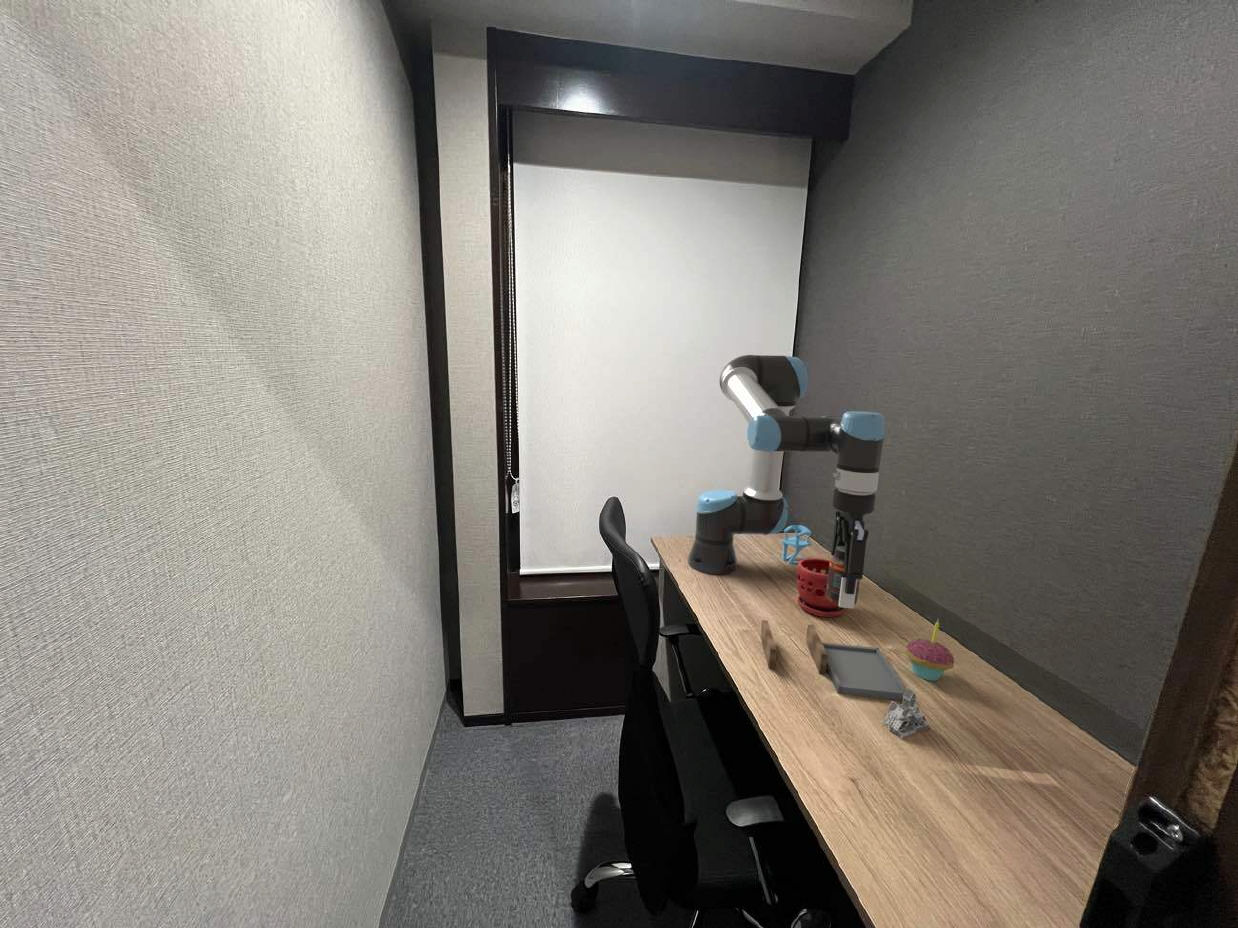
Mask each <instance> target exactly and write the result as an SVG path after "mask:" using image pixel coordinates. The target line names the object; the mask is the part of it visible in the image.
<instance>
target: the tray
mask: <svg viewBox="0 0 1238 928" xmlns="http://www.w3.org/2000/svg"><path fill="white" fill-rule="evenodd" d="M821 642H822V641H821ZM822 644H823V646H824V648H825V650H826V652H827V654H828V656H827V664H826V670H827V673H828V675H829V677H830V680H831V681H832V683H833V686H834V688H835V691H836V693H837V694H842V695H850V696H859V697H861V696H862V697H868V698H878V699H886V700H887V699H888V700H894V701H896V700H897V701H903V695H904V693H905V692H906V690H907V688H906V687H905V685H904V683H903V682H902V681H901V679H900V678H899V676H898V675H897V673H896V672H895V670H894V668H893V667H892V666H891V664H890V663H889V661H888V660H887V659H886V657H885V656H884V654H883V652H882V651H881V650H880V648H879V647H872V646H862V645H853V644H852V645H850V644H841V643H832V642H822Z"/></svg>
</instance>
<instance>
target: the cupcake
mask: <svg viewBox="0 0 1238 928" xmlns="http://www.w3.org/2000/svg"><path fill="white" fill-rule="evenodd" d="M939 620H940V619H939V618H937V621H936V622H935V623H934V628H933V632H932V633H933V634H932V637H931V639H925V638H917V639H915V640H912V641H910V642H908V644H907V645H906V650H905V654H906V656H907V658H908V660H909V661H910V662H911V666H912V672H913V673H914V674H915V675H916V676H918V678H921V679H923V680H926V681H931V682H932V681H933V682H934V681H938V680H939V679H940V678H941V676H942V675H943V673H944V672H945V671H948V670H950V669H952V668H954V663H955V658H954V655H953V653H952V652H951V650H949V649H948V648H947V647H945V645H943V644H941V643H939V642H937V635H938V633H939V632H938V631H939V627H940V623H939Z"/></svg>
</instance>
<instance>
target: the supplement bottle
mask: <svg viewBox="0 0 1238 928" xmlns="http://www.w3.org/2000/svg"><path fill="white" fill-rule="evenodd" d="M836 554H837V555H835V556H831V557H830V559H829V560H830V564H829V572H828V581H827V589H826V598H827V599H828V600H829V601H830V602H831V603H833V604H836V605H838V604H839V596H840V588H841V580H842V577H841V576H840V574H844V563H845V546H839V547H837V549H836ZM860 581H861V579H857V587H856V594H855V602H854V606H855V605H856V604H857V602H858V596H859V590H860Z"/></svg>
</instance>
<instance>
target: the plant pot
mask: <svg viewBox="0 0 1238 928" xmlns="http://www.w3.org/2000/svg"><path fill="white" fill-rule="evenodd" d="M798 561H799V562H798V563H797V567H796V568H797V569H796V583H797V584H796V586H797V590H798V593H799V595H798V597H797V598H796V599H797V600H796V601H797V604H798V605H799V606H800V608H801V609H802V610H804V611H805V612H807V613H809V614H811V615H814V616H819V617H824V618H831V617H832V618H833V617H837V616H840V615H842V614H843V613H844V612H845V608H843V607H839V606H838V605H836V604H833V603H831V602H830V601H829V600H828V599H827V598H826V589H827V581H828V572H829V564H830V559H823V558H814V557H813V558H806V559H803V558H802V560H798ZM814 569H815V570H814ZM823 570H824V571H825V573H822V571H823Z"/></svg>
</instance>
